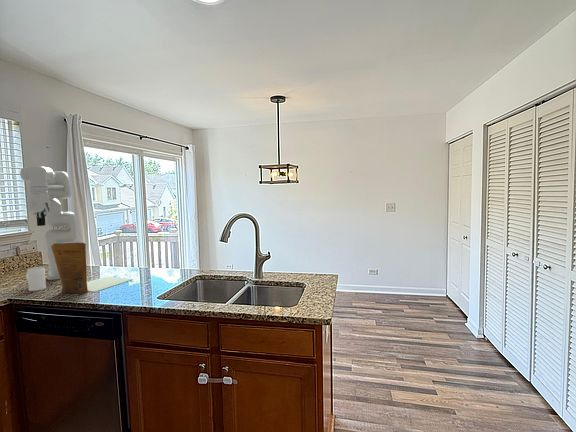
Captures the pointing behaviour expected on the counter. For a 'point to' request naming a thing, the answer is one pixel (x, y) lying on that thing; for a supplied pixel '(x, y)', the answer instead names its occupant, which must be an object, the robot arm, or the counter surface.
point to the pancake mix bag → (71, 266)
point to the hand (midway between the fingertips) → (41, 225)
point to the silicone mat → (105, 283)
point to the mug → (36, 278)
